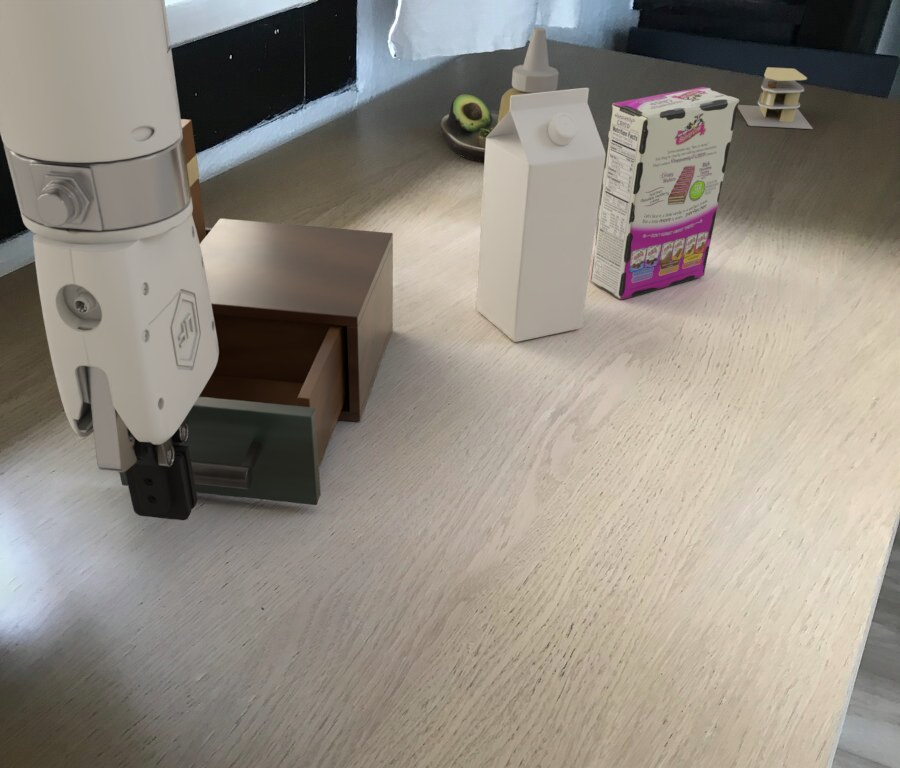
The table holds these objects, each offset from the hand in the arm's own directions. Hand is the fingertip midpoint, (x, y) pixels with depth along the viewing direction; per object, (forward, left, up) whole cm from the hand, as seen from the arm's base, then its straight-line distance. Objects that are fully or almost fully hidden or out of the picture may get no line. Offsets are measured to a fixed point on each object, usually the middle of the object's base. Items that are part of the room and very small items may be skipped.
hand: (166, 509), depth 56 cm
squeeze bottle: (+17, +66, -6) cm, 69 cm away
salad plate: (+13, +90, -6) cm, 91 cm away
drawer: (0, +14, -5) cm, 14 cm away
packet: (-15, +45, -5) cm, 47 cm away
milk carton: (+19, +40, -6) cm, 45 cm away
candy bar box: (+30, +51, -6) cm, 60 cm away
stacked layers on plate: (+50, +111, -6) cm, 122 cm away
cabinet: (0, +28, -6) cm, 29 cm away
